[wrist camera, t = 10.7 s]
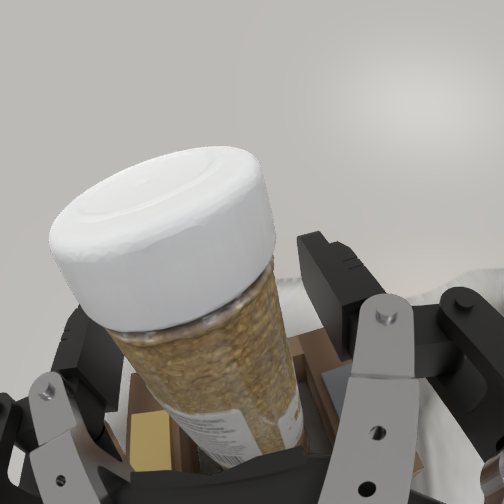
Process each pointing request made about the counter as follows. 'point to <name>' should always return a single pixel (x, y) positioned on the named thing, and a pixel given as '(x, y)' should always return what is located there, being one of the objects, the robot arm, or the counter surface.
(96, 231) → the sprinkles bottle
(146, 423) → the brass tag
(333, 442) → the socket block
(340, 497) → the robot arm
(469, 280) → the counter surface
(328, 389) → the slate tag
